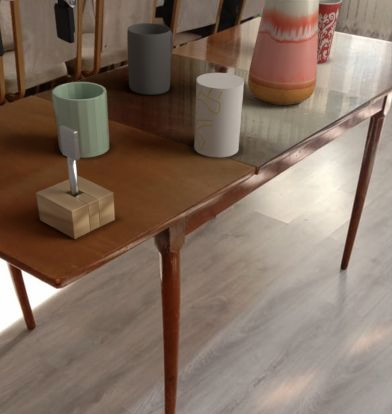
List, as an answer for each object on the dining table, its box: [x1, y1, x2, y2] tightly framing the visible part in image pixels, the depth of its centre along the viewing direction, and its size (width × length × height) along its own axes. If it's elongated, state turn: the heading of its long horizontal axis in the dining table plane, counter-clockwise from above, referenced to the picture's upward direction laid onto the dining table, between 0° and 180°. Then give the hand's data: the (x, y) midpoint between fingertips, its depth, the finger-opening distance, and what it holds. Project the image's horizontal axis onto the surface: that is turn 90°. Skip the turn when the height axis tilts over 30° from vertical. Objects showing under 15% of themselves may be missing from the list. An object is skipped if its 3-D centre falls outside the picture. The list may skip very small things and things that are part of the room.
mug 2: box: [317, 0, 343, 64], centre depth 154 cm, size 13×9×14 cm
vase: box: [247, 0, 319, 106], centre depth 126 cm, size 14×14×30 cm
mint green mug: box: [51, 81, 110, 159], centre depth 111 cm, size 12×9×10 cm
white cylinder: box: [193, 72, 245, 158], centre depth 111 cm, size 8×8×12 cm
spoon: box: [60, 126, 81, 197], centre depth 89 cm, size 1×3×14 cm, turn 49°
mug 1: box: [126, 22, 174, 96], centre depth 135 cm, size 14×9×12 cm
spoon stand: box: [35, 174, 116, 240], centre depth 92 cm, size 8×8×4 cm
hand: (32, 46), depth 77 cm, fingers open, 9 cm apart
